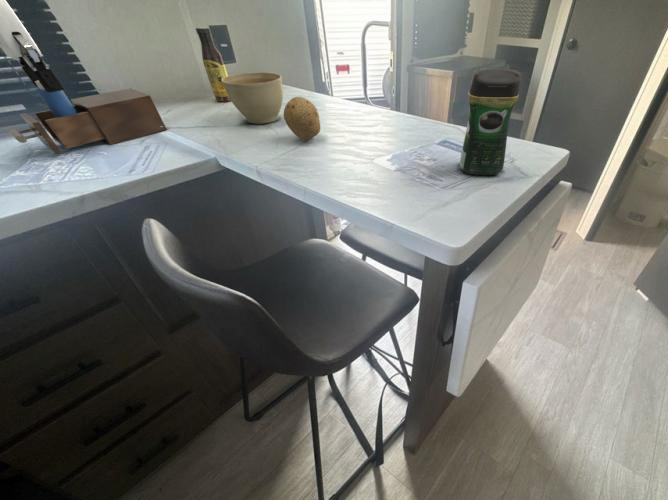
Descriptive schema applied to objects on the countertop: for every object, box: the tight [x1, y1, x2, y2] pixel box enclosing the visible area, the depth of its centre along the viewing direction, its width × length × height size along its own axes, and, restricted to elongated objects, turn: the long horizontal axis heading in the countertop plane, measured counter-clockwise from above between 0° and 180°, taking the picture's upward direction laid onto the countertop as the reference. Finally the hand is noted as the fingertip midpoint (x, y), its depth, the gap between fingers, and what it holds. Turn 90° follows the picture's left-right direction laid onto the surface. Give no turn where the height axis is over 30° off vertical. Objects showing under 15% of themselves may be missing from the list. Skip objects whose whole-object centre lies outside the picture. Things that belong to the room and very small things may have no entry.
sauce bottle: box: [195, 26, 232, 103], centre depth 105 cm, size 6×6×20 cm
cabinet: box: [70, 88, 167, 145], centre depth 86 cm, size 15×13×9 cm
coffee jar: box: [459, 68, 521, 176], centre depth 65 cm, size 10×8×19 cm
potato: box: [283, 96, 321, 142], centre depth 81 cm, size 9×9×10 cm
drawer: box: [8, 104, 106, 155], centre depth 79 cm, size 18×11×7 cm, turn 142°
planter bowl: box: [222, 71, 284, 125], centre depth 93 cm, size 16×16×11 cm
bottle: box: [35, 80, 77, 118], centre depth 78 cm, size 5×5×12 cm
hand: (49, 88), depth 75 cm, fingers open, 9 cm apart
